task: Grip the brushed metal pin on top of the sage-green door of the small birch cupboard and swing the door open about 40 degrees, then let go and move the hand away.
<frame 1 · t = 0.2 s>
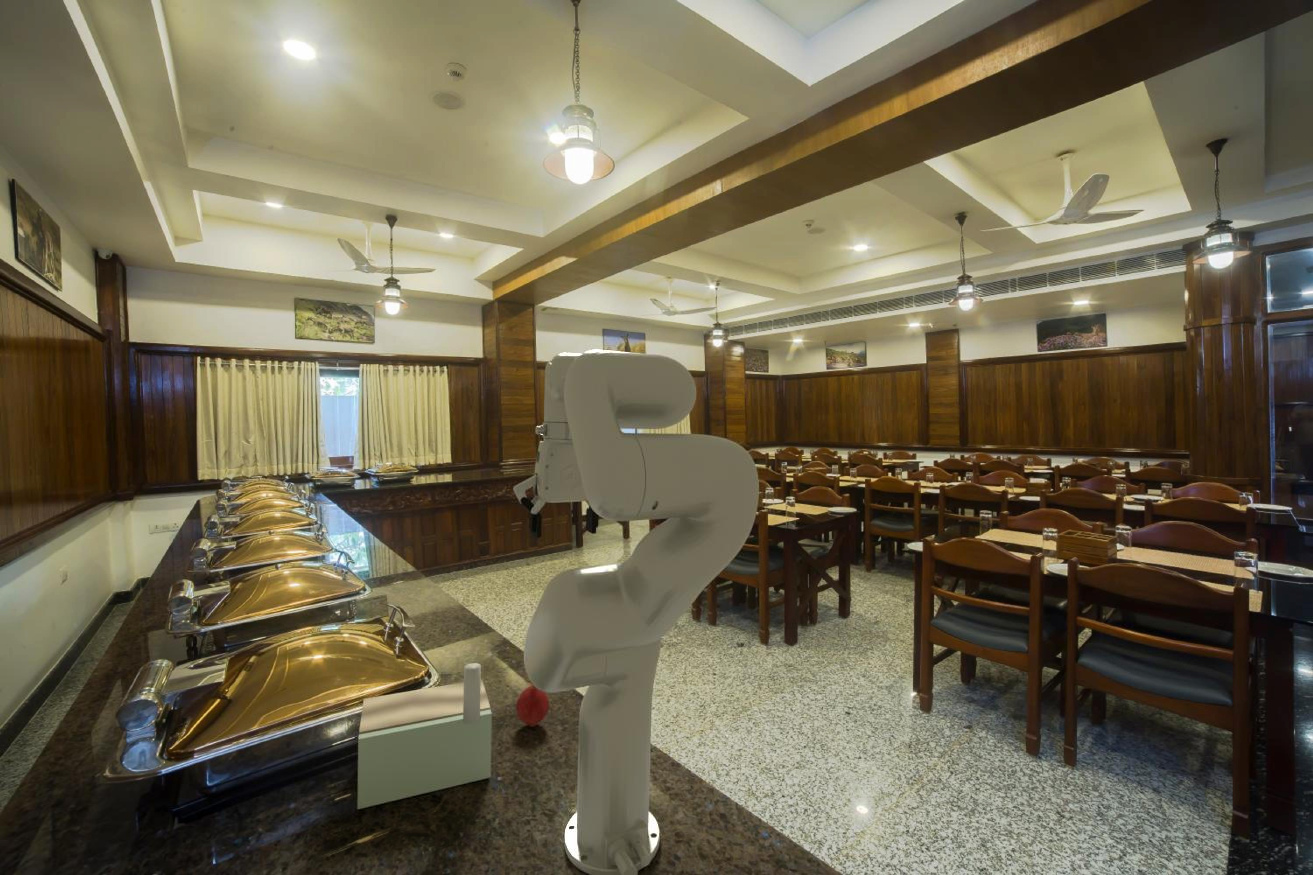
hand: (564, 534, 93), 36 cm above the worktop, tool pointing down, fingers open, 9 cm apart
cupboard: (425, 768, 86), on the worktop
onion: (532, 727, 99), on the worktop
cupboard door: (428, 733, 80), point 9 cm above the worktop, hinge at 0.0°
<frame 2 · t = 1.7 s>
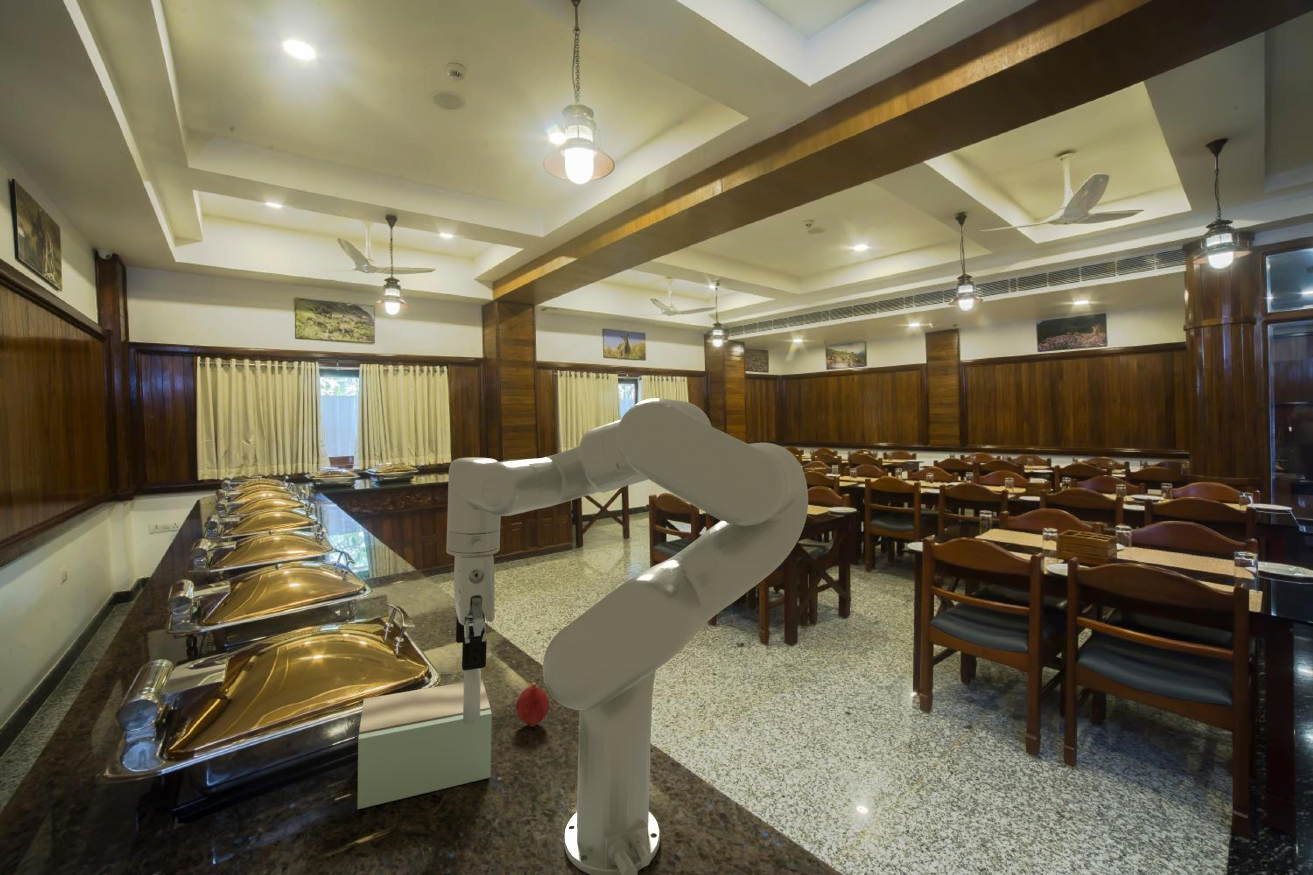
hand: (470, 654, 82), 20 cm above the worktop, tool pointing down, fingers open, 9 cm apart
nothing on the worktop moved.
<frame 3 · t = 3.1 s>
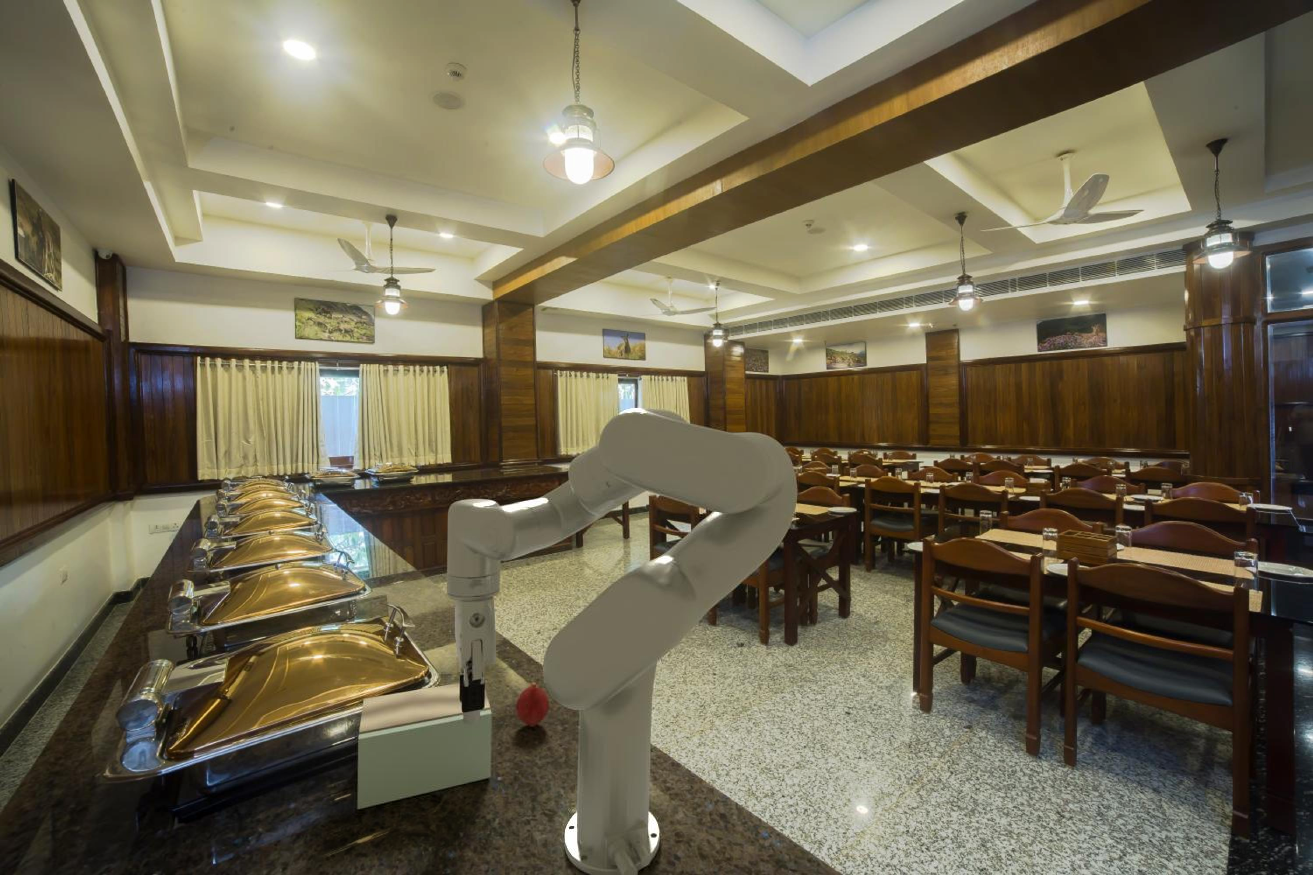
hand: (471, 703, 82), 13 cm above the worktop, tool pointing down, fingers closed on cupboard door, 2 cm apart
cupboard door: (428, 733, 80), point 9 cm above the worktop, hinge at 0.0°, touching gripper
everything else where it was.
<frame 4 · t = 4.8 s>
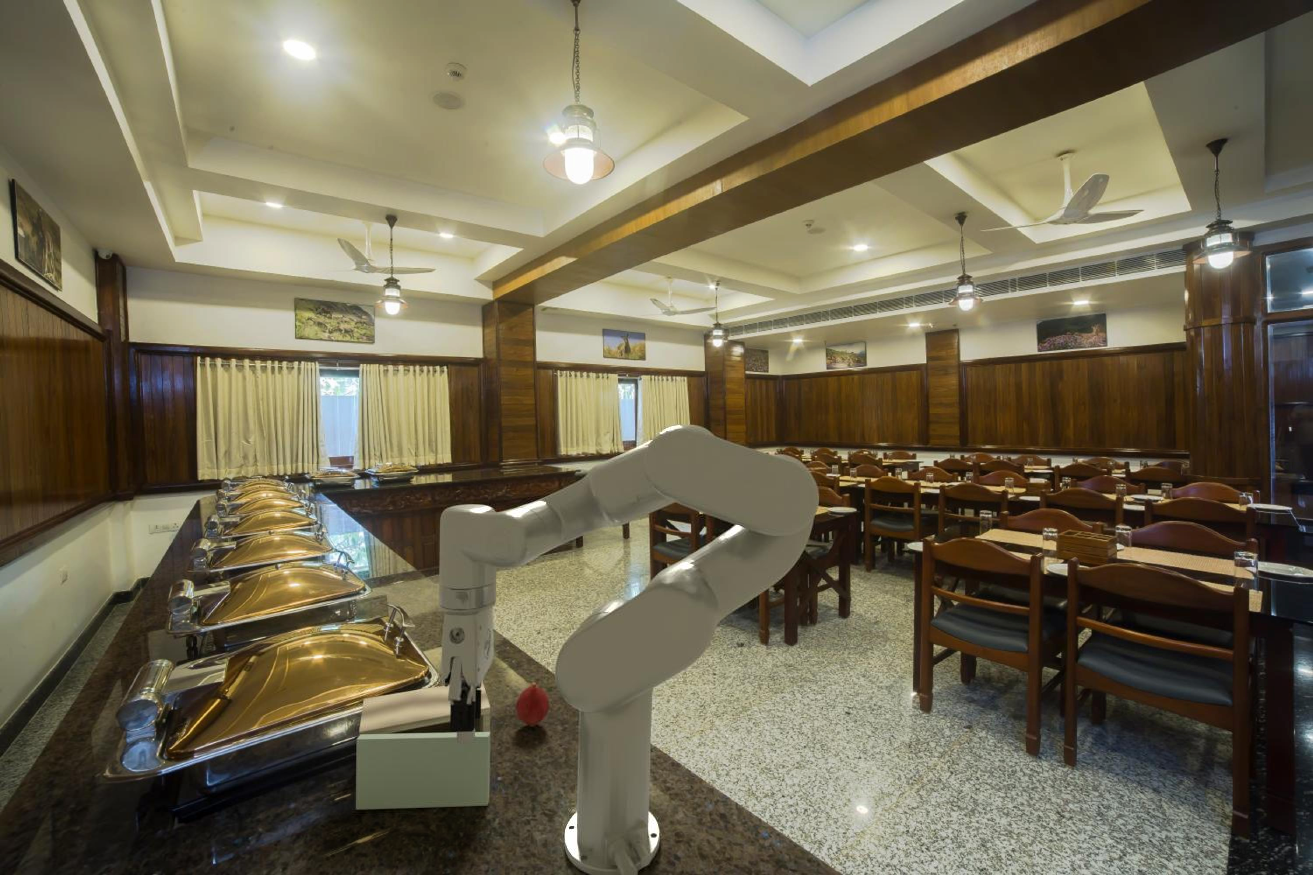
hand: (465, 722, 77), 13 cm above the worktop, tool pointing down, fingers closed on cupboard door, 2 cm apart
cupboard door: (422, 746, 77), point 9 cm above the worktop, hinge at 20.1°, touching gripper
everything else where it was.
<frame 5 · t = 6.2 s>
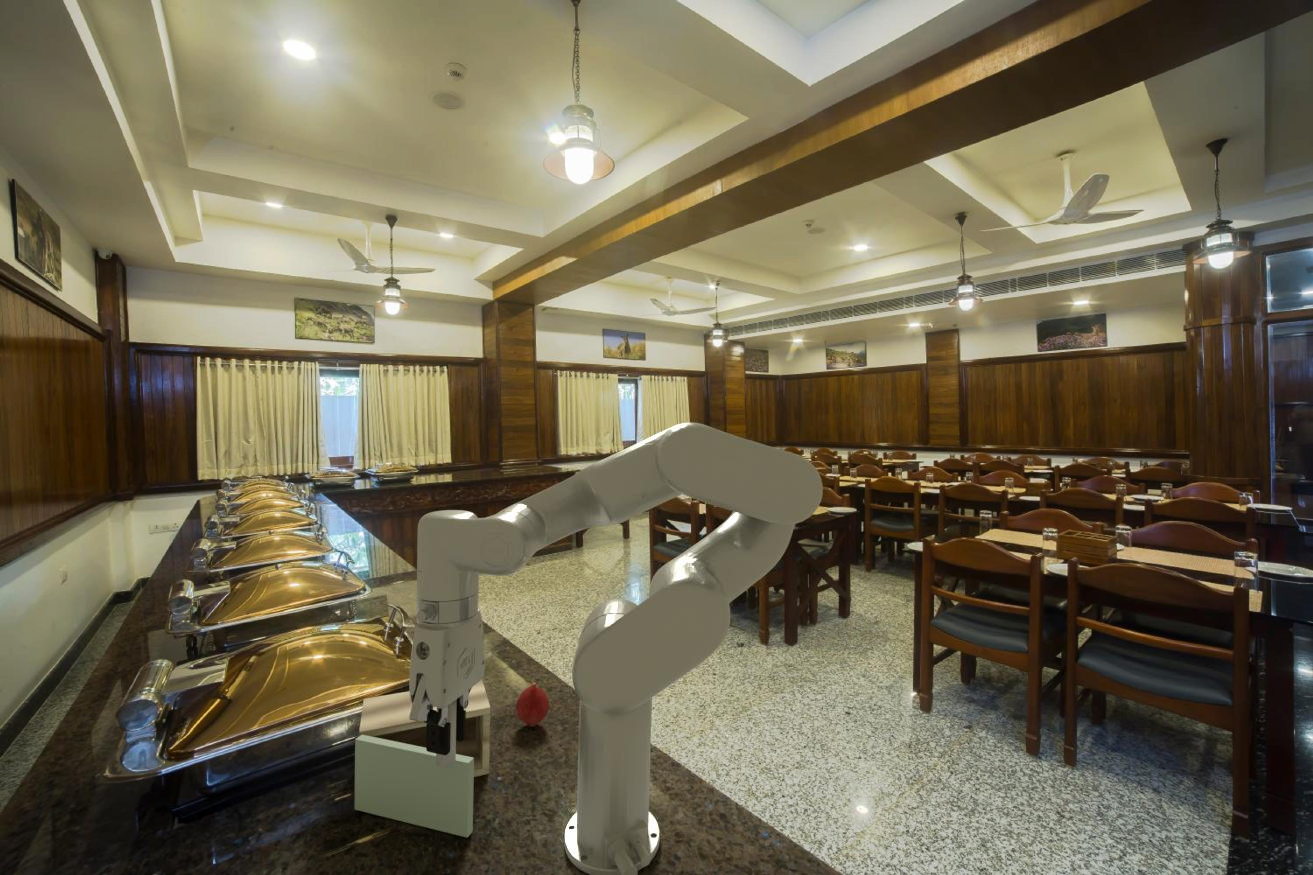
hand: (446, 743, 72), 13 cm above the worktop, tool pointing down, fingers closed on cupboard door, 2 cm apart
cupboard door: (408, 759, 74), point 9 cm above the worktop, hinge at 39.6°, touching gripper
everything else where it was.
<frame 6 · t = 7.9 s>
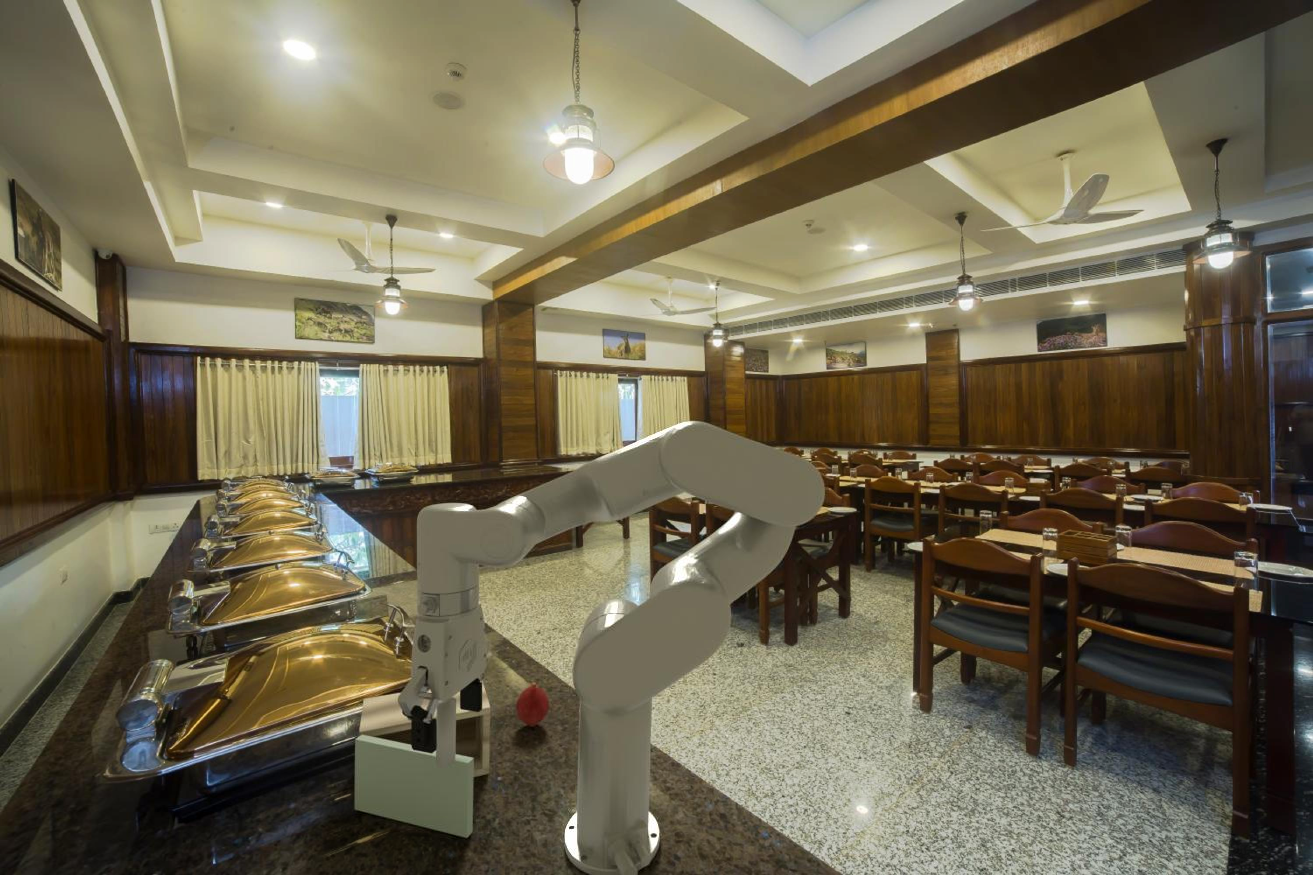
hand: (449, 728, 72), 15 cm above the worktop, tool pointing down, fingers open, 9 cm apart
cupboard door: (408, 759, 74), point 9 cm above the worktop, hinge at 39.8°
everything else where it was.
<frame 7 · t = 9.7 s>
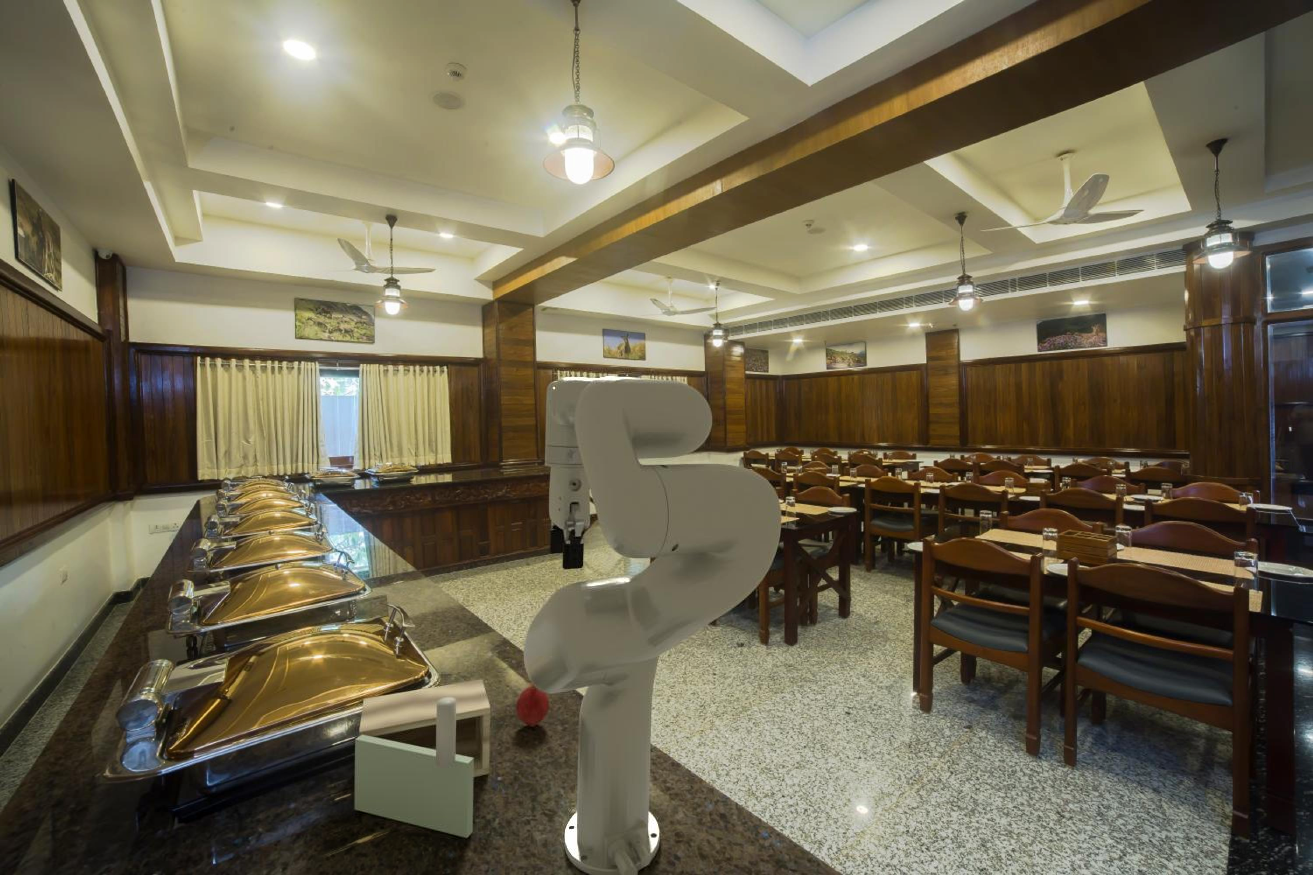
hand: (565, 560, 90), 32 cm above the worktop, tool pointing down, fingers open, 9 cm apart
nothing on the worktop moved.
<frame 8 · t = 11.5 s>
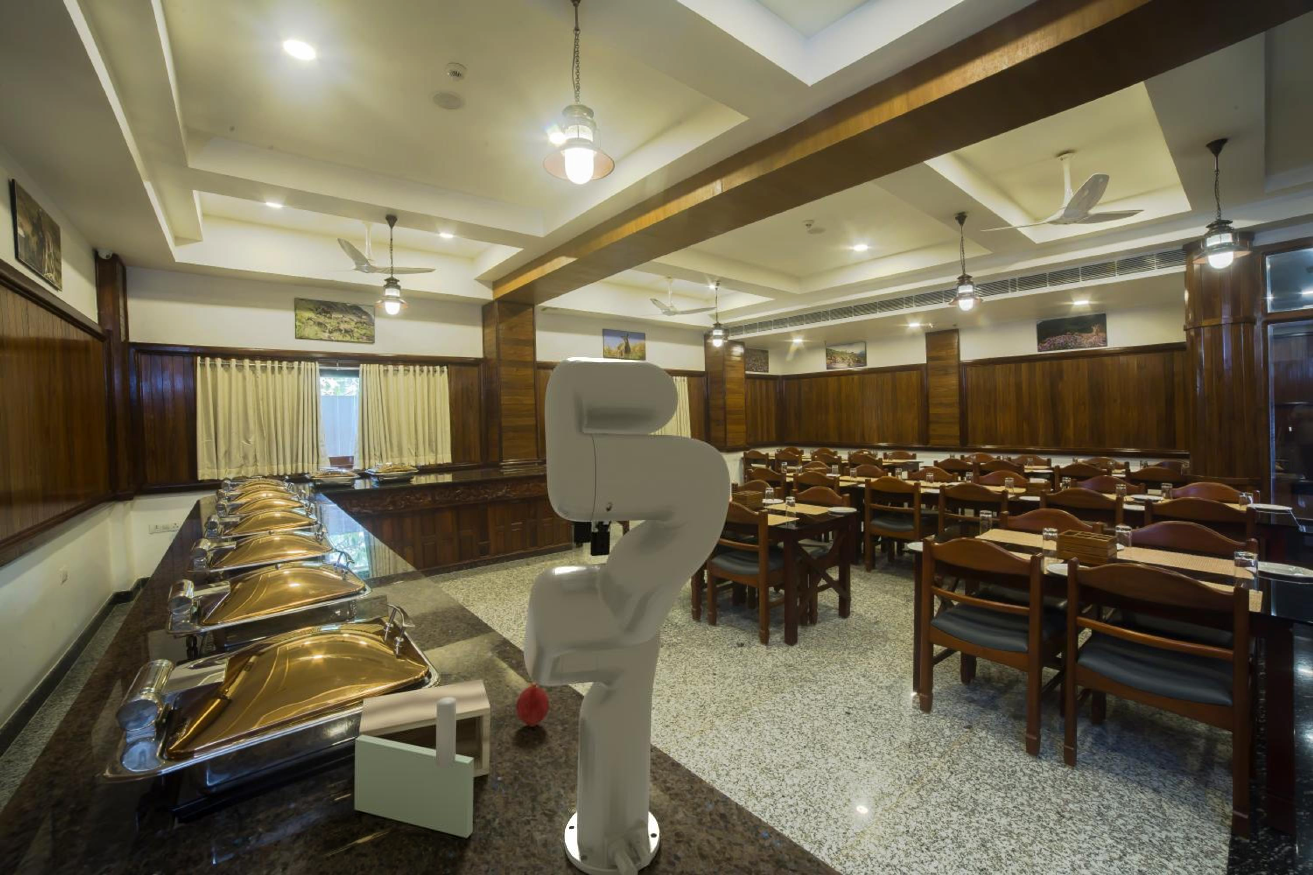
hand: (590, 548, 95), 33 cm above the worktop, tool pointing down, fingers open, 9 cm apart
nothing on the worktop moved.
at the end: cupboard door at +40° (first picture: +0°); onion moved 0.2 cm from its start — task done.
